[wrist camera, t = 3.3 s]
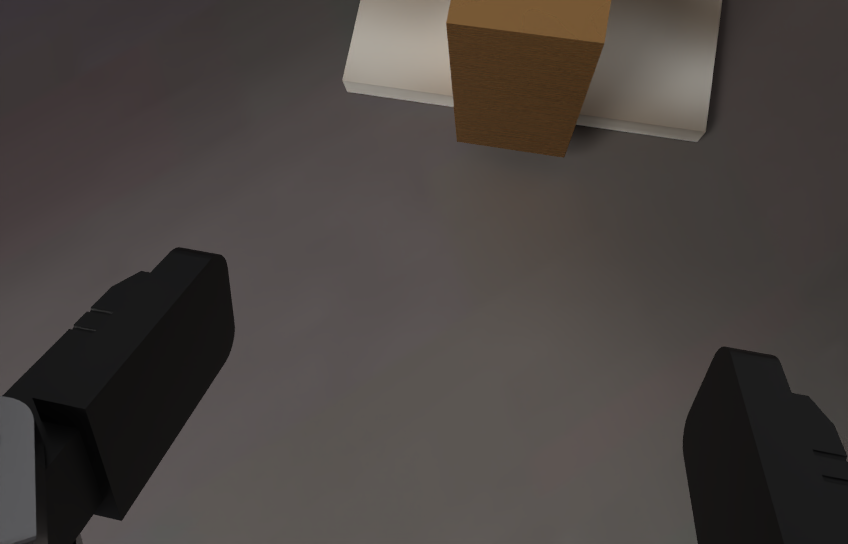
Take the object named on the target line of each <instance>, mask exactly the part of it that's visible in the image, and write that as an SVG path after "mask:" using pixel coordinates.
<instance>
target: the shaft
mask: <svg viewBox="0 0 848 544" xmlns="http://www.w3.org/2000/svg"><path fill="white" fill-rule="evenodd" d="M610 5H611V0H451V1H450V6H449V11H448V16H447V21H446V27H447V38H448V49H449V59H450V70H451V81H452V92H453V103H454V114H455V125H456V135H457V142H464V143H471V144H477V145H484V146H491V147H497V148H504V149H511V150H517V151H524V152H531V153H537V154H544V155H551V156H557V157H564V156H565V153H566V151H567V148H568V145H569V142H570V139H571V137H572V134H573V131H574V128H575V125H576V122H577V120H578V117H579V114H580V111H581V108H582V105H583V103H584V100H585V97H586V94H587V91H588V88H589V86H590V83H591V80H592V77H593V74H594V72H595V69H596V66H597V63H598V60H599V57H600V55H601V52H602V49H603V46H604V43H605V37H606V30H607V24H608V18H609V11H610Z"/></svg>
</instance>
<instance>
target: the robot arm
mask: <svg viewBox="0 0 848 544" xmlns="http://www.w3.org/2000/svg"><path fill="white" fill-rule="evenodd" d="M234 332H235V325H234V316H233V308H232V299H231V291H230V283H229V274H228V267H227V262H226V260H225V258H224V257H223V256H222V255H219V254H214V253H208V252H203V251H197V250H191V249H186V248H180V247H178V248H175V249H173V250H172V251H171V252H170V253H169V254H168V255H167V256H166V257H165V258H164V259H163V260H162V261H161V262H160V263H159V264H158V265H157V266H156V267H155V268H154V269H153V271H152V272H151V273H149V272H144V271H140V272H138V273H137V274H135V275H133V276H131V277H129V278H127V279H125V280H124V281H122V282H120V283H118V284H116V285H114V286H112V287H111V288H110V289H109V290H108V291H107V292H106V293H105V294H104V295H103V296H102V297H101V298H100V299H99V300H98V301H97V302H96V303H95V304H94V305H93V306H92V307H91V311H90V312H86V313H85V314H84V315H83V316H82V317H81V318H80V319H79V320H78V321H77V322H76V323H75V324H74V328H73V329H72V330H71V329H69V330H68V331H67V332H66V333H65V334H64V335H63V336H62V337H61V338H60V339H59V340H58V341H57V342H56V343H55V344H54V345H53V346H52V347H51V348H50V349H49V350H48V351H47V352H46V353H45V354H44V355H43V356H42V357H41V358H40V359H39V360H38V361H37V362H36V363H35V364H34V365H33V366H32V367H31V368H30V369H29V370H28V371H27V372H26V373H25V374H24V375H23V376H22V377H21V378H20V379H19V380H18V381H17V382H16V383H15V384H14V385H13V386H12V387H11V388H10V389H9V390H8V391H7V392H6V393H5V394H4V395H3V396H0V544H83V542H82V538H81V535H80V533H81V531H82V530H83V528H84V527H85V525H86V524H87V523H88V521H89V520H90V518H91V517H92V515H93V514H95V515H99V516H103V517H107V518H112V519H116V520H120V521H122V520H123V518H124V516H125V515H126V513H127V512H128V510H129V509H130V507H131V506H132V504H133V503H134V501H135V500H136V498H137V497H138V495H139V494H140V492H141V490H142V489H143V487H144V486H145V484H146V483H147V481H148V480H149V478H150V477H151V475H152V474H153V472H154V471H155V469H156V468H157V466H158V464H159V463H160V461H161V460H162V458H163V457H164V455H165V454H166V452H167V451H168V449H169V448H170V446H171V445H172V443H173V441H174V440H175V438H176V437H177V435H178V434H179V432H180V431H181V429H182V428H183V426H184V425H185V423H186V422H187V420H188V419H189V417H190V415H191V414H192V412H193V411H194V409H195V408H196V406H197V405H198V403H199V402H200V400H201V399H202V397H203V396H204V394H205V393H206V391H207V389H208V388H209V386H210V385H211V383H212V382H213V380H214V379H215V377H216V376H217V374H218V373H219V371H220V370H221V368H222V367H223V365H224V363H225V362H226V360H227V358H228V356H229V354H230V351H231V348H232V344H233V340H234ZM683 455H684V461H685V467H686V473H687V480H688V486H689V492H690V498H691V504H692V510H693V516H694V523H695V529H696V535H697V541H698V544H848V462H847V461H846V458H847V455H846V452H845V450H844V447H843V445H842V443H841V440H840V438H839V435H838V433H837V431H836V428H835V426H834V424H833V423H832V422H831V421H830V420H829V419H828V418H827V417H826V415H825V414H824V413H823V412H822V411H821V410H820V409H819V408H818V406H817V405H816V404H815V403H814V402H813V401H812V400H811V399H810V397H809V396H805V395H799V394H794V393H791V390H790V387H789V385H788V382H787V379H786V376H785V374H784V371H783V368H782V366H781V363H780V361H779V359H778V358H777V357H776V356H773V355H768V354H763V353H757V352H752V351H746V350H740V349H735V348H729V347H721V348H720V349H719V350H718V351H717V352H716V354H715V356H714V358H713V360H712V362H711V364H710V367H709V369H708V371H707V373H706V376H705V378H704V380H703V382H702V384H701V387H700V389H699V391H698V393H697V395H696V398H695V400H694V402H693V404H692V407H691V409H690V411H689V413H688V416H687V419H686V423H685V428H684V435H683Z"/></svg>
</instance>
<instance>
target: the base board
mask: <svg viewBox="0 0 848 544" xmlns="http://www.w3.org/2000/svg"><path fill="white" fill-rule="evenodd" d="M450 1H451V0H361V1H360V5H359V10H358V14H357V18H356V23H355V27H354V32H353V36H352V40H351V45H350V49H349V54H348V58H347V62H346V67H345V71H344V76H343V80H342V81H343V83H344V85H345V87H346V90H347V92H352V93H359V94H366V95H373V96H380V97H387V98H394V99H401V100H408V101H415V102H422V103H429V104H436V105H443V106H450V107H454V103H453V92H452V81H451V70H450V59H449V49H448V38H447V27H446V21H447V16H448V11H449V6H450ZM721 7H722V0H611V5H610V11H609V18H608V24H607V30H606V37H605V43H604V46H603V49H602V52H601V55H600V57H599V60H598V63H597V66H596V69H595V72H594V74H593V77H592V80H591V83H590V86H589V88H588V91H587V94H586V97H585V100H584V103H583V105H582V108H581V111H580V114H579V117H578V120H577V122H576V125H582V126H589V127H596V128H602V129H609V130H616V131H623V132H630V133H637V134H644V135H651V136H658V137H665V138H672V139H679V140H686V141H693V142H697V141H698V140H699V139H700V138H701V137H702V136H703V134H704V133H705V132H706V126H707V118H708V110H709V102H710V94H711V86H712V78H713V70H714V62H715V54H716V46H717V38H718V30H719V23H720V15H721Z"/></svg>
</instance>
